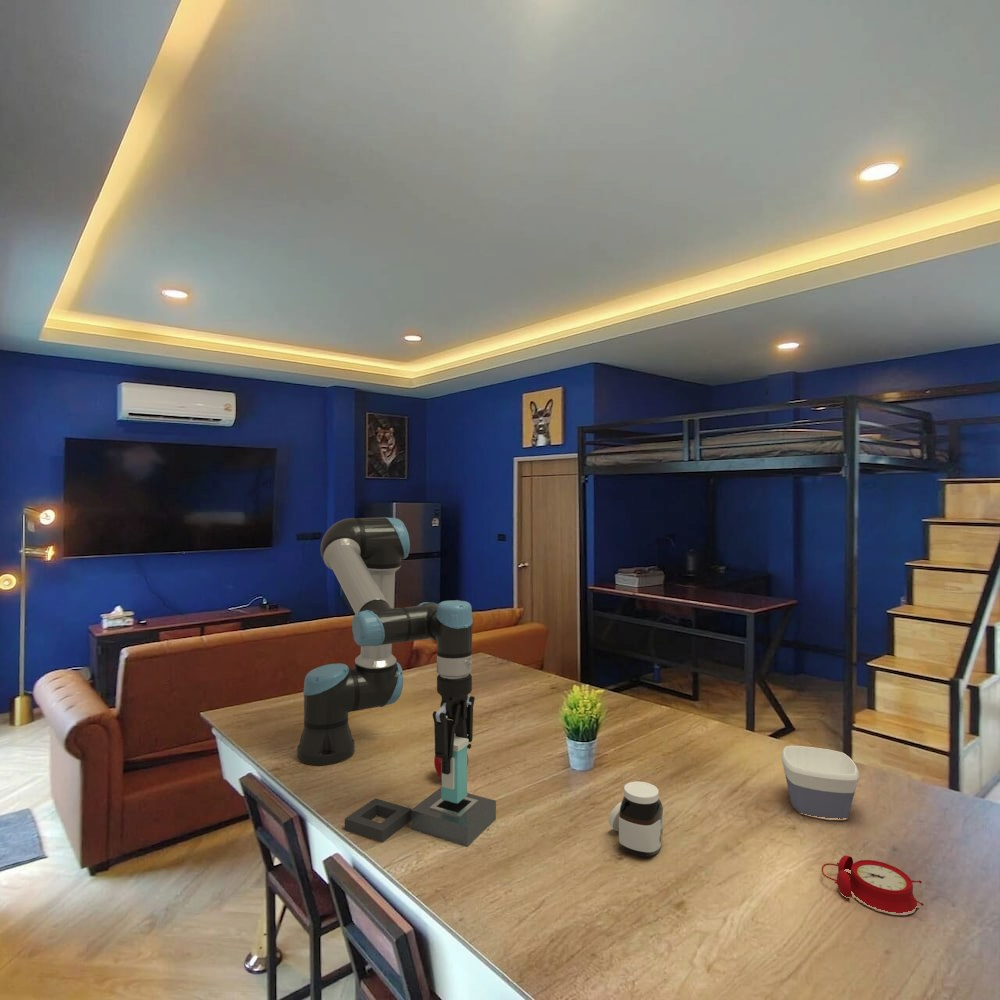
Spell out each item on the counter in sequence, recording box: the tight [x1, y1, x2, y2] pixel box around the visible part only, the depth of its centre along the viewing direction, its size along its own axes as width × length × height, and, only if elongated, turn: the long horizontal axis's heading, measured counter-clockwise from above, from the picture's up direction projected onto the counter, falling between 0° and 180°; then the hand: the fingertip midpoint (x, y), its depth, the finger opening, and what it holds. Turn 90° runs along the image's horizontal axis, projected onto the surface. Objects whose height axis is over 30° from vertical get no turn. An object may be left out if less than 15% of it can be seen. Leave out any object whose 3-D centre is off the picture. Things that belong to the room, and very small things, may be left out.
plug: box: [440, 736, 470, 804], centre depth 131 cm, size 4×4×12 cm
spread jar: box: [608, 780, 664, 858], centre depth 125 cm, size 12×11×12 cm
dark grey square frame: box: [344, 798, 412, 843], centre depth 131 cm, size 10×10×2 cm
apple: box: [433, 753, 469, 780], centre depth 152 cm, size 8×8×10 cm
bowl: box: [781, 745, 860, 819], centre depth 139 cm, size 15×15×11 cm
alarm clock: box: [821, 855, 924, 913], centre depth 109 cm, size 10×6×15 cm
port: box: [410, 787, 497, 847], centre depth 131 cm, size 14×12×4 cm
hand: (454, 782), depth 131 cm, fingers closed on plug, 4 cm apart
